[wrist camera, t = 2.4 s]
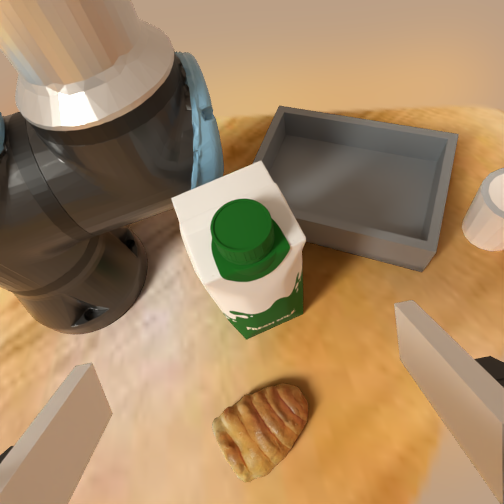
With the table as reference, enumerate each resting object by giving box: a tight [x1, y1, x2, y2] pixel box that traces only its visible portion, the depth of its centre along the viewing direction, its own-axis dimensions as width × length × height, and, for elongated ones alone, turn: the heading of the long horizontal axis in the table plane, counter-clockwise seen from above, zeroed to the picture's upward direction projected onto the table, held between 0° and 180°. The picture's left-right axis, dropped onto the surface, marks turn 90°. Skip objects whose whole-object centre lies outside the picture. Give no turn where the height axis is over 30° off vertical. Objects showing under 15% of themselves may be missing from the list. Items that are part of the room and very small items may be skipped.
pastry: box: [212, 383, 309, 482], centre depth 34 cm, size 9×7×4 cm
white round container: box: [462, 168, 504, 251], centre depth 38 cm, size 7×7×7 cm
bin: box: [253, 106, 458, 272], centre depth 44 cm, size 22×16×5 cm
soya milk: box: [171, 161, 306, 339], centre depth 33 cm, size 9×9×20 cm
